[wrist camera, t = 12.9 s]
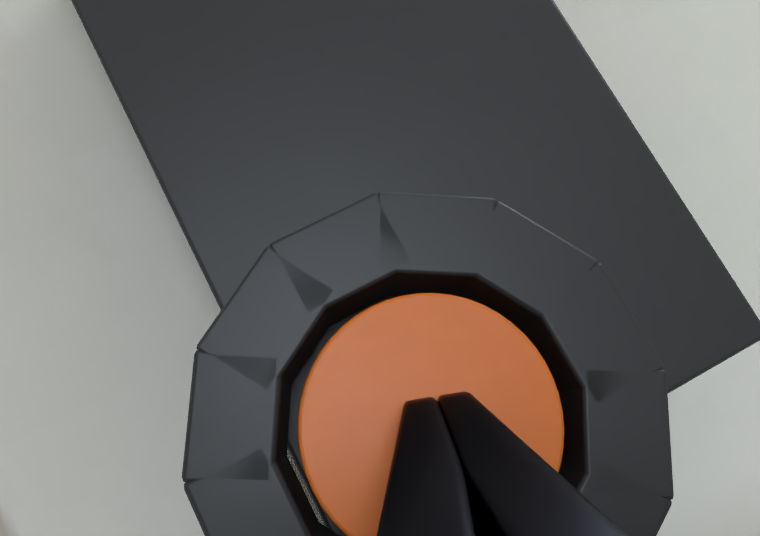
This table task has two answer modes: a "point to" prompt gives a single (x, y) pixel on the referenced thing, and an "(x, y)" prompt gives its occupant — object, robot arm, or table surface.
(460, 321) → the button
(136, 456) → the table surface
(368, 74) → the dark gray block
